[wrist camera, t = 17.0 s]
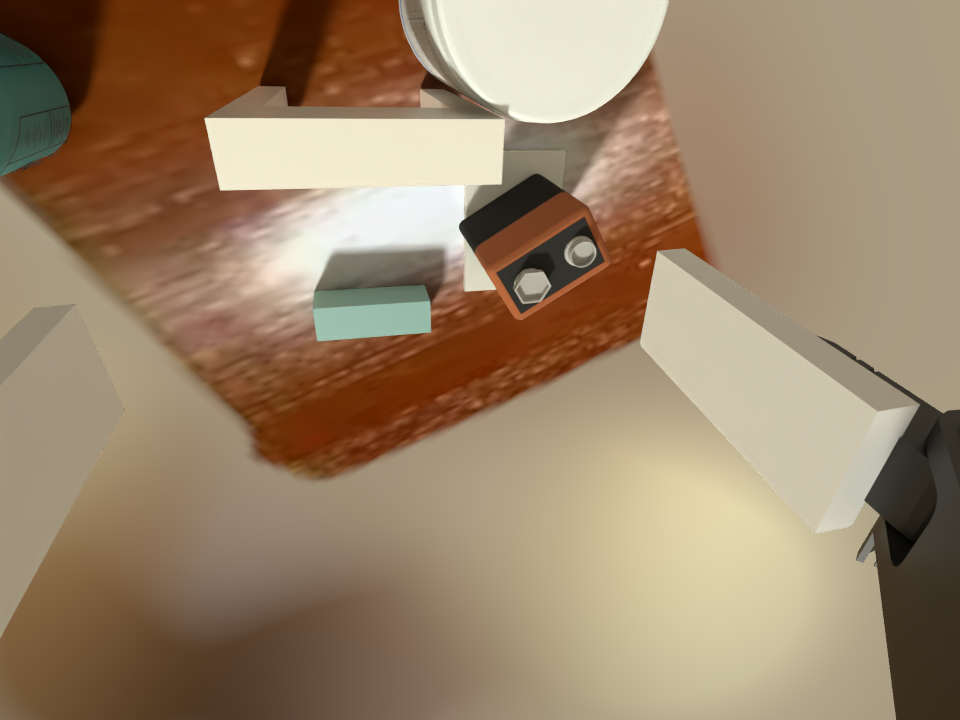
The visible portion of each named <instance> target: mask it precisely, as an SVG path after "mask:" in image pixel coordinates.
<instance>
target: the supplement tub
mask: <svg viewBox="0 0 960 720" xmlns="http://www.w3.org/2000/svg"><path fill="white" fill-rule="evenodd" d="M668 3H669V0H399V9H400V16H401V21H402V25H403V28H404V32H405V35H406V37H407V40H408V42H409V44H410V46H411V48H412V50H413V52H414V54H415V55H416V57H417V58H418V60H419V61H420V62H421V63H422V65H423V66H424V67H425V68H426V69H427V70H428V71H429V72H430V73H431V74H432V75H433V76H434V77H436V78H437V79H438V80H440V81H441V82H443V83H444V84H446V85H448V86H449V87H451V88H453V89H455V90H456V91H458V92H460V93H461V94H463V95H465V96H467V97H468V98H470V99H472V100H473V101H475V102H477V103H479V104H480V105H482V106H484V107H486V108H488V109H490V110H491V111H493V112H495V113H497V114H499V115H502V116H504V117H507V118H510V119H514V120H518V121H524V122H536V123H556V122H564V121H568V120H572V119H575V118H578V117H581V116H583V115H586V114H588V113H590V112H592V111H594V110H596V109H597V108H599V107H601V106H602V105H604V104H605V103H607V102H608V101H609V100H611V99H612V98H613V97H614V96H615V95H616V94H618V93H619V92H620V91H621V90H622V89H623V88H624V87H625V86H626V85H627V84H628V83H629V82H630V81H631V79H632V78H633V77H634V76H635V74H636V73H637V72H638V71H639V69H640V68H641V66H642V65H643V63H644V62H645V60H646V58H647V57H648V55H649V53H650V51H651V49H652V48H653V46H654V43H655V41H656V39H657V37H658V34H659V32H660V29H661V27H662V24H663V21H664V18H665V15H666V11H667V7H668Z"/></svg>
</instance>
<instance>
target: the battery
mask: <svg viewBox="0 0 960 720" xmlns="http://www.w3.org/2000/svg"><path fill="white" fill-rule="evenodd" d="M459 229H460V231H461V233H462V235H463V236H464V238H465V239H466V241H467V243H468V244H469V246H470V247H471V249H472V251H473V252H474V254H475V256H476V257H477V259H478V260H479V262H480V264H481V265H482V267H483V268H484V270H485V272H486V273H487V275H488V276H489V278H490V280H491V281H492V283H493V284H494V286H495V288H496V289H497V291H498V292H499V294H500V296H501V297H502V299H503V300H504V302H505V304H506V305H507V307H508V308H509V310H510V312H511V313H512V315H513V316H514V317H515V318H516V319H519V320H521V319H524V318H526V317H527V316H529V315H531V314H532V313H534V312H535V311H537V310H539V309H540V308H542V307H543V306H545V305H547V304H548V303H550V302H551V301H553V300H555V299H556V298H558V297H559V296H561V295H563V294H564V293H566V292H567V291H569V290H571V289H572V288H574V287H575V286H577V285H579V284H580V283H582V282H583V281H585V280H587V279H588V278H590V277H591V276H593V275H595V274H596V273H598V272H599V271H601V270H603V269H604V268H606V267H607V266H608V265H609V264H610V262H611V257H610V254H609V252H608V250H607V247H606V245H605V243H604V241H603V238H602V236H601V234H600V232H599V230H598V227H597V225H596V223H595V221H594V218H593V216H592V214H591V212H590V210H589V208H588V206H586V205H585V204H583V203H582V202H580V201H579V200H578V199H576V198H575V197H573V196H572V195H570V194H569V193H567V192H566V191H564V190H563V189H561V188H560V187H558V186H557V185H555V184H554V183H552V182H551V181H550V180H548V179H547V178H545V177H544V176H542V175H540V174H533V175H531V176H530V177H528V178H527V179H525V180H524V181H522V182H521V183H519V184H518V185H516V186H514V187H513V188H511V189H510V190H508V191H507V192H505V193H504V194H502V195H501V196H499V197H498V198H496V199H495V200H493V201H492V202H490V203H488V204H487V205H485V206H484V207H482V208H481V209H479V210H478V211H476V212H475V213H473V214H472V215H470V216H469V217H467V218H466V219H464V220H463V221H462V222H461V223H460V225H459Z"/></svg>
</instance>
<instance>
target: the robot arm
mask: <svg viewBox="0 0 960 720" xmlns="http://www.w3.org/2000/svg"><path fill="white" fill-rule="evenodd" d="M640 346H641V347H642V348H643V349H644V350H645V351H646V352H647V353H648V354H649V355H650V356H651V357H652V358H653V360H654V361H655V362H656V363H657V364H658V365H659V366H660V367H661V368H662V369H663V370H664V372H665V373H666V374H667V375H668V376H669V377H670V378H671V379H672V380H673V381H674V382H675V383H676V384H677V385H678V387H679V388H680V389H681V390H682V391H683V392H684V393H685V394H686V395H687V396H688V398H689V399H691V401H692V402H693V403H694V404H695V405H696V406H697V407H698V408H699V409H700V410H701V412H702V413H703V414H704V415H705V416H706V417H707V418H708V419H709V420H710V421H711V422H712V423H713V425H714V426H715V427H716V428H717V429H718V430H719V431H720V432H721V433H722V434H723V435H724V436H725V438H726V439H727V440H728V441H729V442H730V443H731V444H732V445H733V446H734V447H735V448H736V449H737V450H738V451H739V453H740V454H741V455H742V456H743V457H744V458H745V459H746V460H747V461H748V462H749V463H750V465H751V466H752V467H753V468H754V469H755V470H756V471H757V472H758V473H759V474H760V475H761V476H762V478H763V479H764V480H765V481H766V482H767V483H768V484H769V485H770V486H771V487H772V488H773V489H774V491H775V492H776V493H777V494H778V495H779V496H780V497H781V498H782V499H783V500H784V501H785V502H786V503H787V505H788V506H789V507H790V508H791V509H792V510H793V511H794V512H795V513H796V514H797V515H798V516H799V518H801V520H802V521H803V522H804V523H805V524H806V525H807V526H808V527H809V528H810V529H811V531H812V532H813V533H814V534H817V533H822V532H826V531H831V530H835V529H840V528H845V527H850V526H852V524H853V522H854V520H855V519H856V517H857V515H858V513H859V512H860V509H861V508H862V506H863V505H864V503H865V501H866V502H867V503H868V504H869V505H870V506H871V507H872V508H873V509H875V510H876V511H877V512H878V513H879V514H880V516H879V518H878V520H877V521H876V523H875V524H874V526H873V528H872V529H871V531H870V533H869V534H868V536H867V538H866V540H865V541H864V543H863V544H862V546H861V548H860V549H859V551H858V554H857V558H856V560H857V561H860V562H864V561H865V559H866V557H867V556H868V554H869V553H870V552H872V551H874V550H875V553H876V562H875V564H874V566H875V567H877V569H878V577H879V585H880V592H881V600H882V609H883V617H884V624H885V633H886V641H887V648H888V657H889V665H890V673H891V681H892V689H893V697H894V705H895V712H896V720H960V410H951V411H947V412H945V413H941V412H940V411H938V410H937V409H935V408H934V407H932V406H931V405H929V404H928V403H926V402H924V401H923V400H922V399H920V398H918V397H917V396H915V395H914V394H912V393H911V392H909V391H908V390H906V389H904V388H903V387H902V386H900V385H898V384H897V383H895V382H894V381H892V380H891V379H889V378H888V377H886V376H885V375H883V374H882V373H880V372H875V371H874V368H873V367H871V366H869V365H868V364H866V363H865V362H863V361H862V360H857V359H856V356H854V355H853V354H851V353H850V352H848V351H846V350H845V349H843V348H842V347H840V346H839V345H837V344H835V343H834V342H831V341H829V340H826V339H824V338H822V337H819V336H817V335H814V334H813V333H812V332H810V331H808V330H807V329H806V328H804V327H802V326H801V325H799V324H798V323H796V322H795V321H793V320H792V319H790V318H789V317H787V316H786V315H784V314H783V313H781V312H780V311H778V310H777V309H775V308H774V307H772V306H771V305H769V304H768V303H766V302H765V301H763V300H762V299H760V298H759V297H757V296H756V295H754V294H753V293H751V292H750V291H748V290H747V289H745V288H744V287H742V286H741V285H739V284H738V283H736V282H735V281H733V280H732V279H730V278H729V277H727V276H726V275H724V274H723V273H721V272H720V271H718V270H717V269H715V268H714V267H712V266H710V265H709V264H707V263H706V262H704V261H703V260H701V259H700V258H698V257H697V256H695V255H694V254H692V253H691V252H689V251H688V250H686V249H674V250H663V251H657V256H656V261H655V266H654V272H653V277H652V282H651V287H650V293H649V298H648V303H647V309H646V314H645V319H644V324H643V330H642V335H641V340H640ZM124 410H125V409H124V407H123V405H122V402H121V400H120V398H119V396H118V394H117V392H116V390H115V387H114V385H113V383H112V381H111V379H110V377H109V375H108V372H107V370H106V368H105V366H104V364H103V361H102V359H101V357H100V355H99V353H98V351H97V349H96V346H95V344H94V342H93V340H92V338H91V336H90V333H89V331H88V329H87V327H86V325H85V323H84V320H83V318H82V316H81V314H80V312H79V310H78V308H77V305H76V304H70V305H59V306H49V307H37V308H33V309H32V310H31V311H30V312H29V313H28V314H27V315H26V316H25V317H24V318H23V319H22V320H20V321H19V322H18V323H17V324H16V325H15V326H14V327H13V328H12V329H11V330H10V331H9V332H8V333H7V334H6V335H5V336H4V337H3V338H2V339H1V340H0V637H1V635H2V634H3V632H4V630H5V628H6V626H7V624H8V623H9V621H10V619H11V617H12V615H13V613H14V612H15V610H16V608H17V606H18V604H19V602H20V601H21V599H22V597H23V595H24V593H25V591H26V590H27V588H28V586H29V584H30V582H31V580H32V579H33V577H34V575H35V573H36V571H37V569H38V568H39V566H40V564H41V562H42V560H43V558H44V557H45V555H46V553H47V551H48V549H49V547H50V546H51V544H52V542H53V540H54V538H55V536H56V535H57V533H58V531H59V529H60V527H61V525H62V524H63V522H64V520H65V518H66V516H67V514H68V513H69V511H70V509H71V507H72V505H73V503H74V502H75V500H76V498H77V496H78V494H79V493H80V491H81V489H82V487H83V485H84V483H85V482H86V480H87V478H88V476H89V474H90V472H91V470H92V468H93V467H94V465H95V463H96V461H97V460H98V458H99V456H100V454H101V452H102V450H103V449H104V446H105V445H106V443H107V441H108V439H109V438H110V436H111V434H112V432H113V430H114V428H115V427H116V425H117V423H118V421H119V419H120V417H121V416H122V414H123V412H124Z"/></svg>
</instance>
